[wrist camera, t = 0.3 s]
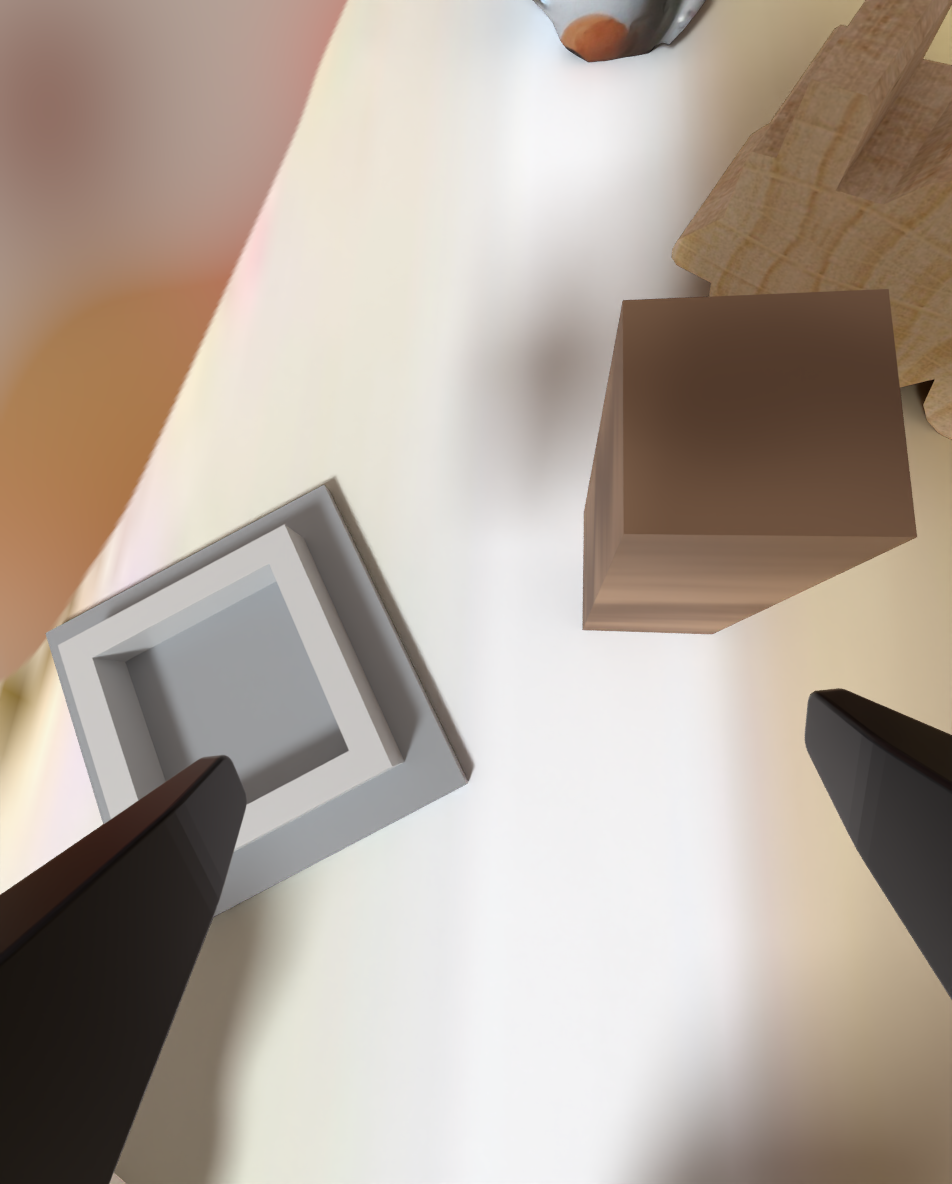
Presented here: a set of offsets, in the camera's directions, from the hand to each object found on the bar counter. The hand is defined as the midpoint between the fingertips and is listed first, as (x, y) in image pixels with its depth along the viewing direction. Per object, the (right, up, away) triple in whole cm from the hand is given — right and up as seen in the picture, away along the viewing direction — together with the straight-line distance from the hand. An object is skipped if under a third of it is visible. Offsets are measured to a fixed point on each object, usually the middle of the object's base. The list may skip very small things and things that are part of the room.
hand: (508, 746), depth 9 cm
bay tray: (-10, -2, +15) cm, 18 cm away
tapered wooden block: (+6, +3, +14) cm, 16 cm away
